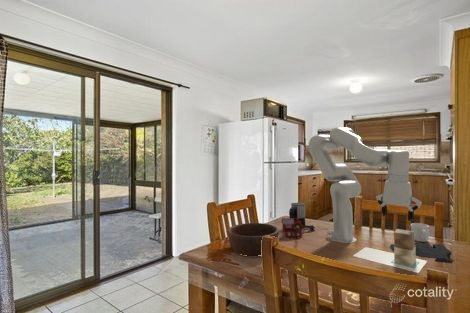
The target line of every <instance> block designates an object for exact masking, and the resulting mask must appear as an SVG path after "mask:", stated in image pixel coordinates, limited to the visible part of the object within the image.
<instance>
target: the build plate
mask: <svg viewBox="0 0 470 313" xmlns="http://www.w3.org/2000/svg"><path fill="white" fill-rule="evenodd" d="M352 257H355V258H359V259H363V260H367V261H371V262H374V263H378V264H382V265H386V266H390V267H395V268H397V269H402V270H405V271H409V272H414V273H416V274H419V272H421V271H422V269H423V268H424V267H425V265H426V264H427V263H428V260H427V259H426V260H425V259H420V258H417V257H416V262H415V263H414V264H413V266H409V265H405V264H401V263H397V262H395V261H394V252H390V251H384V250H380V249H375V248H371V247H368V246H365V247H364V248H362V249H361V250H359V251H358V252H356V253H355V254H353V255H352Z"/></svg>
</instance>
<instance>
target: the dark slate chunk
mask: <svg viewBox="0 0 470 313" xmlns="http://www.w3.org/2000/svg"><path fill="white" fill-rule="evenodd" d="M389 247H390V249H391V251H392V253H394V247H395V244H390V246H389ZM414 247H415V248H416V257H419V258H427V259H434V262H436V263H437V262H439V263H451V264H452V263H453V262H454V260H453V259H451V255H452V254H453V253H452V252H451V250H449V249H448V248H447V247H446V246H445V244H443V243H440V244H438V243H437V244H436V243H432V244H431V245H430V244H428V243H425V242H423V243H421V242H416V243H415V242H414Z"/></svg>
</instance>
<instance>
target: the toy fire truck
mask: <svg viewBox="0 0 470 313" xmlns="http://www.w3.org/2000/svg"><path fill="white" fill-rule="evenodd" d="M281 224H282V234H283V235H285V237H286V238H287V239H290V238H292V237H293V235H294V236H295V238H296V237H300V238H301V237H303V235H304V234H305V228H304V227H303V225H302V223H301V221H299V219H298V218H295V220H294V219H293V218H290V217H289V218H286V217H285V218H284V217H283V218H281ZM299 224H300V225H299ZM294 227H295V228H294Z"/></svg>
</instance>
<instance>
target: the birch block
mask: <svg viewBox="0 0 470 313" xmlns="http://www.w3.org/2000/svg"><path fill="white" fill-rule="evenodd" d="M393 253H394V261H395V262H397V263H401V264H405V265H409V266H413V264H414V263H415V262H416V258H417V256H416V248H415V247H414V248H413V250H408V249H402V248H397V247H394V252H393Z"/></svg>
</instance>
